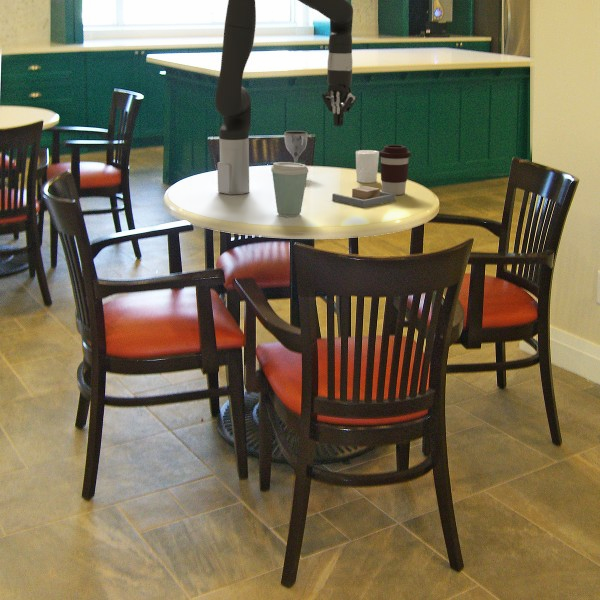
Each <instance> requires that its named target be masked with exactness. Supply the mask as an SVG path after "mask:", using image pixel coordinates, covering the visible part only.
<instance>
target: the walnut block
mask: <svg viewBox="0 0 600 600" xmlns="http://www.w3.org/2000/svg"><path fill="white" fill-rule="evenodd" d="M380 191H381V188H377V187H372V186H369V185H368V186H367V185H364V186H359V187H353V188H351V194H352V195H351V197H353V198H358V199H362V200H366V199H371V198H376V197H380Z"/></svg>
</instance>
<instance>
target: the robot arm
mask: <svg viewBox="0 0 600 600" xmlns="http://www.w3.org/2000/svg"><path fill="white" fill-rule="evenodd" d="M297 1H299V2H300V3H302V4H303V5H305V6H307V7H309V8H310V9H313V10H315V11H317V12H318V13H320V14H321V15H323V16H325V17H326V18H327V19H328V20H329V30H330V31H329V33H330V34H329V39H328V56H327V75H326V76H327V80H326V82H327V84H328V87H327V91H326V93H322V94H321V97H322V99H323V102H324V103H325V105H326V107H327V109H328V111H329V112H331V113H332V114H333V125H334V126H335V127H342V126H343V125H344V115H345V114H346V113H349V112H350V111H351V109H352V108H353V106H354V105H355V103H356V101H357V100H358V98H357V96H355V95H353V94H352V88H351V85H352V82H353V53H352V52H353V37H352V36H353V35H352V30H353V21H354V20H353V19H354V18H353V17H354V8H353V6H352V3H351V2H350V1H348V0H297ZM226 7H227V8H226V13H225V20H224V28H223V40H222V51H221V62H220V72H219V76H218V81H217V86H216V91H215V96H214V105H215V109H216V111H217V113H219V115H220V116H222V118H223V119H222V124H221V125H220V128H219V131H218V135H219V139H218V141H219V161H218V162H217V163H216V165H217V192H218V193H222V194H225V195H229V196H231V195H241V194H242V195H243V194H248V193H249V192H250V149H249V147H250V145H249V144H250V140H249V138H250V137H249V133H250V129H251V123H252V120H251V118H252V115H251V114H252V100H251V96H250V93H249V91H248V89H246V88H245V87H244V86H242V85H243V76H244V72H245V67H246V65H247V63H248V60H249V58H250V55H251V52H252V49H253V47H254V42H255V34H256V25H257V24H256V23H257V13H256V12H257V11H256V10H257V9H256V8H257V7H256V0H228V1H227V6H226Z"/></svg>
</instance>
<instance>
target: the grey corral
mask: <svg viewBox="0 0 600 600" xmlns="http://www.w3.org/2000/svg"><path fill="white" fill-rule="evenodd" d="M396 197H397V195H396V194H391V193H386V192H382V190H380V197H376V198H371V199H366V200H362V199H358V198H353V197H352V196H350V195H349V196H348V195H344V194H339V193H332V197H331V200H332V201H334V202H338V203H343V204H347V205H351V206H356V207H360V208H367V207H368V208H369V207H372V206H378V205H381V203H383V204H386V202H388V203H391V202H390V201H393V202H396V201H395V200H397V198H396ZM377 204H378V205H377Z"/></svg>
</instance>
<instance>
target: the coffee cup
mask: <svg viewBox="0 0 600 600" xmlns="http://www.w3.org/2000/svg"><path fill="white" fill-rule="evenodd" d="M378 152H379V158H380V162H379V163H380V180H381V191H382V192H386V193H391V194H396V196H403V195H404V194H406V187H407V181H408V173H409V165H410V164H409V159H410V158H411V155H412V153H411V151H410V150H408V149H407V146H406V145H401V144H389V145H384V147H383V149H381V150H379V151H378Z"/></svg>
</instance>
